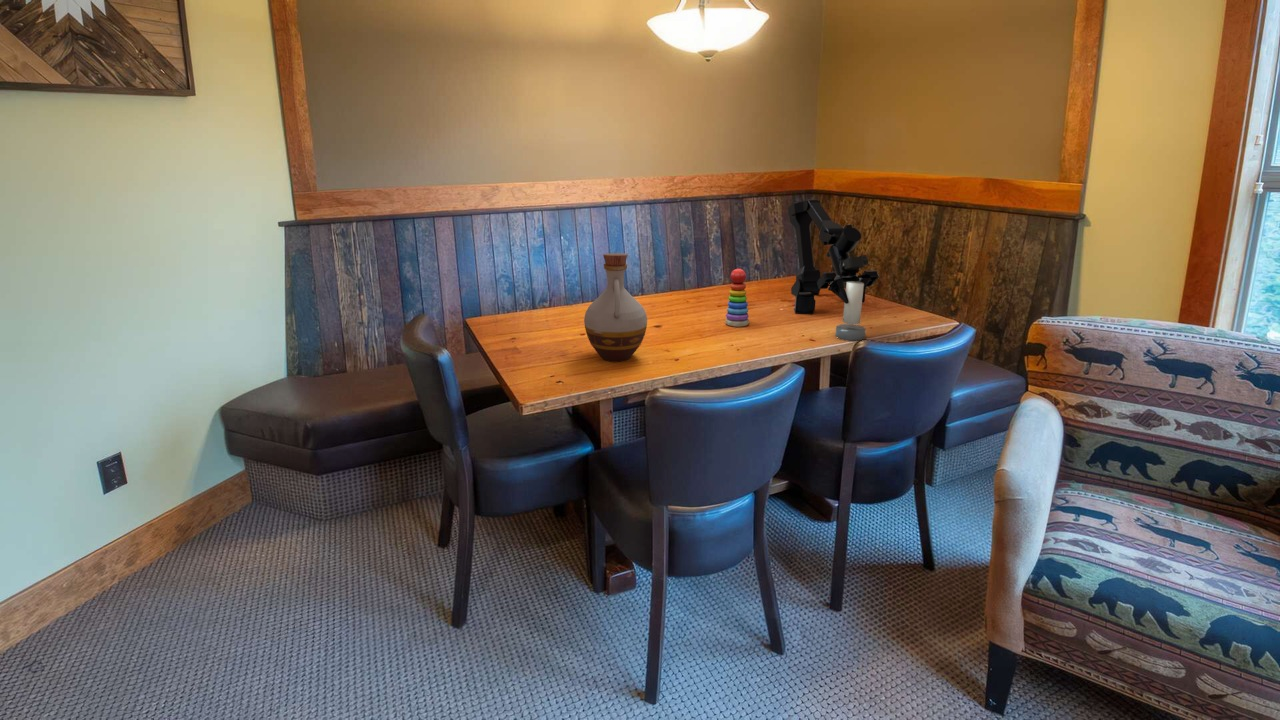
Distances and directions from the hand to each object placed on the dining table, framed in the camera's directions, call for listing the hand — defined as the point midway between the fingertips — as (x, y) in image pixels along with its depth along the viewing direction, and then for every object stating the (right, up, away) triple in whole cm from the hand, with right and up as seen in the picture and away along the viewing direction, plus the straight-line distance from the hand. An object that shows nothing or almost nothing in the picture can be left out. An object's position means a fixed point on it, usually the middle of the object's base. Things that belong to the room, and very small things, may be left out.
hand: (855, 302), depth 224 cm
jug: (-74, -18, -17) cm, 78 cm away
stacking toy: (-34, -6, +19) cm, 40 cm away
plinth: (0, -11, +5) cm, 12 cm away
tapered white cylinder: (0, -6, +3) cm, 7 cm away
